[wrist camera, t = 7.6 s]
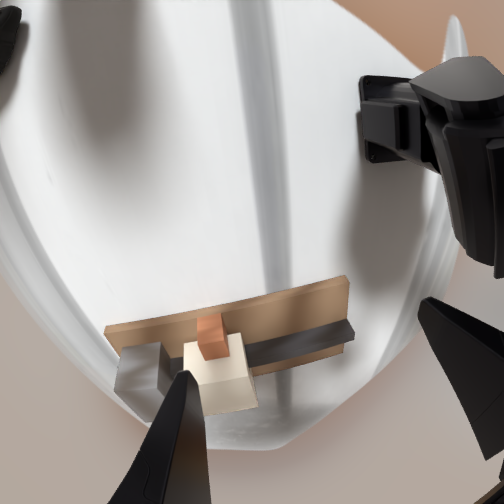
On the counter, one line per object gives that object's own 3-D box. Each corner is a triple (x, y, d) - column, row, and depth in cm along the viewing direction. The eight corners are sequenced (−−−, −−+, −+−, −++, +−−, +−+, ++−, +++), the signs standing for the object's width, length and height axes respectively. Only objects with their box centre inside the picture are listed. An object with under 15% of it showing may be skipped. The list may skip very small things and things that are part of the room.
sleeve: (240, 332, 23) (248, 376, 19) (250, 367, 26) (258, 406, 22) (184, 343, 23) (183, 387, 19) (201, 376, 26) (204, 416, 22)
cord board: (344, 274, 24) (376, 321, 18) (339, 346, 29) (360, 388, 24) (105, 326, 23) (91, 378, 17) (148, 385, 28) (145, 430, 23)
